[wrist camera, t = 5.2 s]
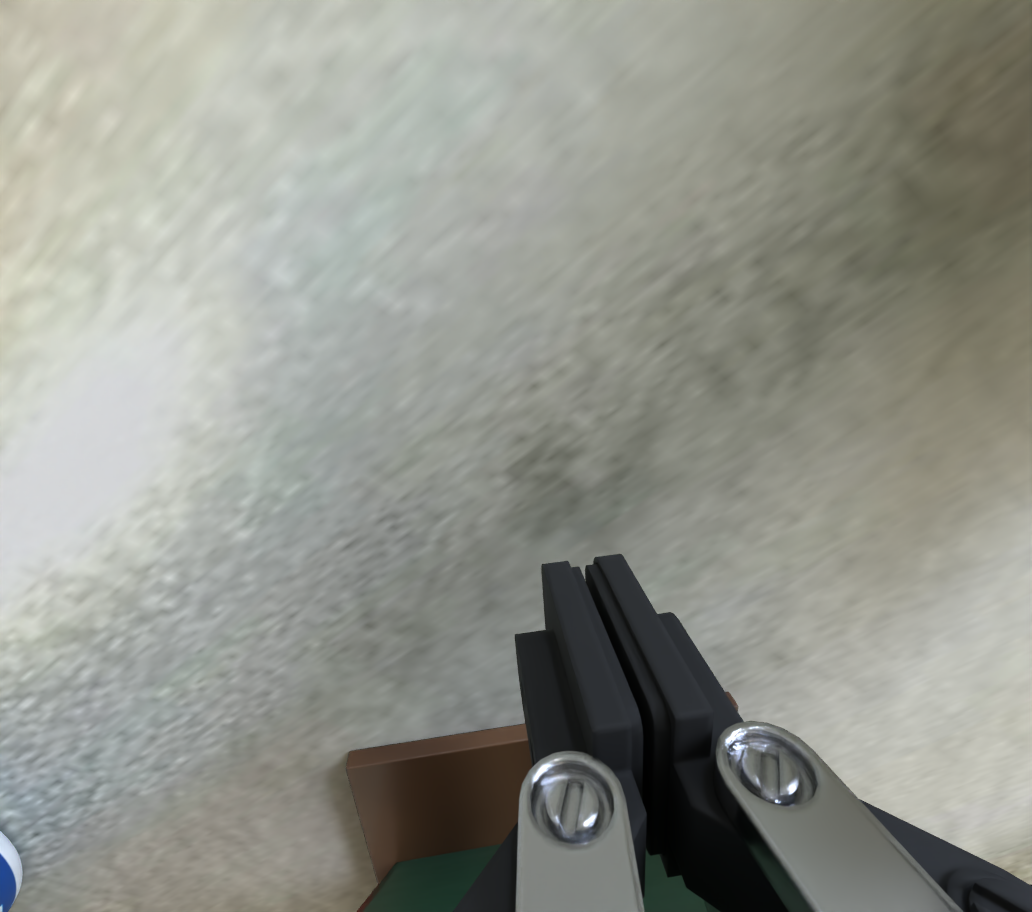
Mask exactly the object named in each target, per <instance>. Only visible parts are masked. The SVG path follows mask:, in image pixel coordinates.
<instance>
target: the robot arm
mask: <svg viewBox="0 0 1032 912" xmlns="http://www.w3.org/2000/svg"><path fill="white" fill-rule="evenodd" d="M585 579H586V582H585ZM585 579H584V577H583V574H582V572H581V570H580V568H579V567H570V564H569V562H568V561H563V562H555V563H548V564H542V585H543V599H544V613H545V627H546V630H543V631H536V632H529V633H522V634H515V644H516V654H517V664H518V673H519V682H520V689H521V697H522V704H523V711H524V717H525V724H526V730H527V737H528V743H529V750H530V756H531V763H532V768H531V769H530V770H529V772H528V774H527V776H526V777H525V779H524V781H523V783H522V786H521V792H520V797H519V814H518V822H517V823H516V825H515V826H514V828H513V829H512V830H511V832H510V833H509V834H508V836H507V837H506V839H505V840H504V841H503V843H502V844H501V846H500V847H499V848H498V850H497V851H496V852H495V854H494V855H493V857H492V858H491V859H490V861H489V862H488V864H487V865H486V866H485V868H484V869H483V870H482V872H481V873H480V875H479V876H478V877H477V879H476V880H475V882H474V883H473V884H472V886H471V887H470V888H469V890H468V891H467V893H466V894H465V895H464V897H463V898H462V900H461V901H460V902H459V904H458V905H457V906H456V908H455V909H454V911H453V912H645V911H644V905H643V898H644V896H645V861H646V849H647V852H648V854H649V855H650V856H653V855H658V854H659V855H660V857H661V860H662V863H663V866H664V869H665V872H666V875H667V878H669V877H675V876H680V875H682V878H683V881H684V883H685V886H686V888H687V889H689V890H690V891H692V892H693V893H694V894H696V895H697V896H699V897H700V898H702V899H703V900H704V904H705V907H706V909H707V912H1032V885H1029V884H1027V883H1026V882H1024V881H1022V880H1020V879H1019V878H1017V877H1015V876H1014V875H1012V874H1010V873H1009V872H1007V871H1005V870H1003V869H1001V868H999V867H997V866H995V865H993V864H991V863H989V862H987V861H985V860H983V859H981V858H979V857H977V856H975V855H973V854H971V853H969V852H967V851H965V850H962V849H960V848H958V847H956V846H954V845H952V844H950V843H948V842H946V841H944V840H942V839H940V838H938V837H936V836H934V835H932V834H930V833H928V832H926V831H924V830H922V829H919V828H917V827H915V826H913V825H911V824H909V823H907V822H905V821H903V820H901V819H899V818H897V817H895V816H893V815H891V814H889V813H887V812H885V811H883V810H881V809H879V808H876V807H874V806H872V805H870V804H868V803H866V802H864V801H862V800H860V799H858V798H857V797H856V796H855V794H854V793H853V792H852V791H851V790H850V789H849V788H848V787H847V786H846V785H845V784H844V783H843V782H842V780H841V779H840V778H839V777H838V776H837V775H836V774H835V773H834V772H833V771H832V770H831V769H830V767H829V766H828V765H827V764H826V763H825V762H824V761H823V760H822V759H821V758H820V757H819V756H818V755H817V753H816V752H815V751H814V750H813V749H812V748H810V747H809V746H808V745H807V744H806V743H805V742H804V741H802V740H801V739H800V738H799V737H797V736H795V735H794V734H792V733H790V732H788V731H787V730H785V729H783V728H780V727H778V726H775V725H772V724H769V723H764V722H755V721H747V722H744V721H743V720H742V718H741V717H740V715H739V714H738V712H737V710H736V709H735V707H734V706H733V704H732V703H731V701H730V699H729V698H728V696H727V695H726V693H725V692H724V690H723V688H722V687H721V685H720V684H719V682H718V681H717V679H716V677H715V676H714V674H713V673H712V671H711V670H710V668H709V667H708V665H707V663H706V662H705V660H704V659H703V657H702V656H701V654H700V652H699V651H698V649H697V648H696V646H695V645H694V643H693V641H692V640H691V638H690V637H689V635H688V634H687V632H686V630H685V629H684V627H683V626H682V624H681V623H680V621H679V619H678V618H677V617H676V616H675V615H674V614H673V613H671V612H668V613H661V614H657V613H656V612H655V610H654V608H653V606H652V605H651V603H650V601H649V600H648V598H647V596H646V595H645V593H644V591H643V589H642V588H641V586H640V584H639V583H638V581H637V579H636V577H635V576H634V574H633V572H632V571H631V569H630V567H629V565H628V564H627V562H626V560H625V559H624V557H623V556H622V554H616V555H608V556H601V557H595V558H594V562H593V565H586V568H585Z"/></svg>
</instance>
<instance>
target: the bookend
mask: <svg viewBox="0 0 1032 912" xmlns="http://www.w3.org/2000/svg"><path fill="white" fill-rule="evenodd" d="M725 693H726V695H727V696H728V698H729V699H730V701H731V703H732V704H733V706H734V707H735V709H736V710H737V712H738V705H737V703H736V702H735V700H734V699H733V697H732V696H731V694H730V693H729V692H725ZM531 768H532V763H531V756H530V750H529V743H528V737H527V730H526V724H520V725H513V726H507V727H501V728H494V729H488V730H482V731H475V732H469V733H462V734H456V735H450V736H443V737H437V738H431V739H424V740H418V741H411V742H405V743H399V744H392V745H386V746H380V747H373V748H367V749H360V750H354V751H350V752H349V755H348V760H347V765H346V772H347V775H348V779H349V782H350V786H351V790H352V793H353V797H354V800H355V804H356V807H357V811H358V814H359V818H360V822H361V825H362V829H363V832H364V836H365V839H366V843H367V846H368V850H369V854H370V857H371V861H372V864H373V868H374V871H375V875H376V878H377V882H378V884H379V883H380V882H381V881H382V879H383V878H384V877H385V876H386V875H387V873H388V872H389V871H390V870H391V868H392V867H393V866H394V865H395V863H396V862H402V861H408V860H413V859H419V858H424V857H430V856H436V855H441V854H447V853H453V852H458V851H464V850H470V849H475V848H481V847H487V846H492V845H498V844H502V843H503V841H504V840H505V839H506V837H507V836H508V834H509V833H510V832H511V830H512V829H513V828H514V826H515V825H516V823H517V822H518V814H519V797H520V792H521V786H522V783H523V781H524V779H525V777H526V776H527V774H528V772H529V770H530V769H531Z"/></svg>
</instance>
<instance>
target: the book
mask: <svg viewBox="0 0 1032 912" xmlns="http://www.w3.org/2000/svg"><path fill="white" fill-rule="evenodd" d="M500 846H501V844H498V845H492V846H487V847H481V848H475V849H470V850H464V851H458V852H453V853H447V854H441V855H436V856H430V857H424V858H419V859H413V860H408V861H402V862H396V863H395V865H394V866H393V867H392V868H391V870H390V871H389V872H388V873H387V875H386V876H385V877H384V878H383V879H382V881H381V882H380V883H379V884H378V886H377V887H376V888H375V889H374V891H373V892H372V893H371V894H370V896H369V897H368V898H367V899H366V900H365V902H364V903H363V904H362V905H361V907H360V908H359V909H358V910H357V912H453V911H454V909H455V908H456V906H457V905H458V904H459V902H460V901H461V900H462V898H463V897H464V895H465V894H466V893H467V891H468V890H469V888H470V887H471V886H472V884H473V883H474V882H475V880H476V879H477V877H478V876H479V875H480V873H481V872H482V870H483V869H484V868H485V866H486V865H487V864H488V862H489V861H490V859H491V858H492V857H493V855H494V854H495V852H496V851H497V850H498V848H499V847H500ZM643 905H644V911H645V912H707V909H706V907H705V904H704V900H703V899H702V898H700V897H699V896H697V895H696V894H694V893H693V892H692V891H690V890H689V889H687V888H686V886H685V883H684V881H683V878H682V875H680V876H675V877H669V878H667V875H666V872H665V869H664V866H663V863H662V860H661V857H660V855H659V854H658V855H653V856H650V855H649V854H648V852H647V849H646V861H645V896H644V898H643Z"/></svg>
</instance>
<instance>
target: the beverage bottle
mask: <svg viewBox="0 0 1032 912" xmlns="http://www.w3.org/2000/svg"><path fill="white" fill-rule="evenodd" d="M22 876H23V871H22V864H21V860H20V857H19V855H18V852H17V851H16V849H15V847H14V846H13V844H12V843H11V842H10V840H9V839H8V838H7V837H6V836H5V835H4V834H3V833H2V832H1V831H0V912H8V911H9V909H10V908H11V906H12V905H13V903H14V901H15V900H16V898H17V896H18V893H19V890H20V887H21V883H22Z"/></svg>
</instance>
